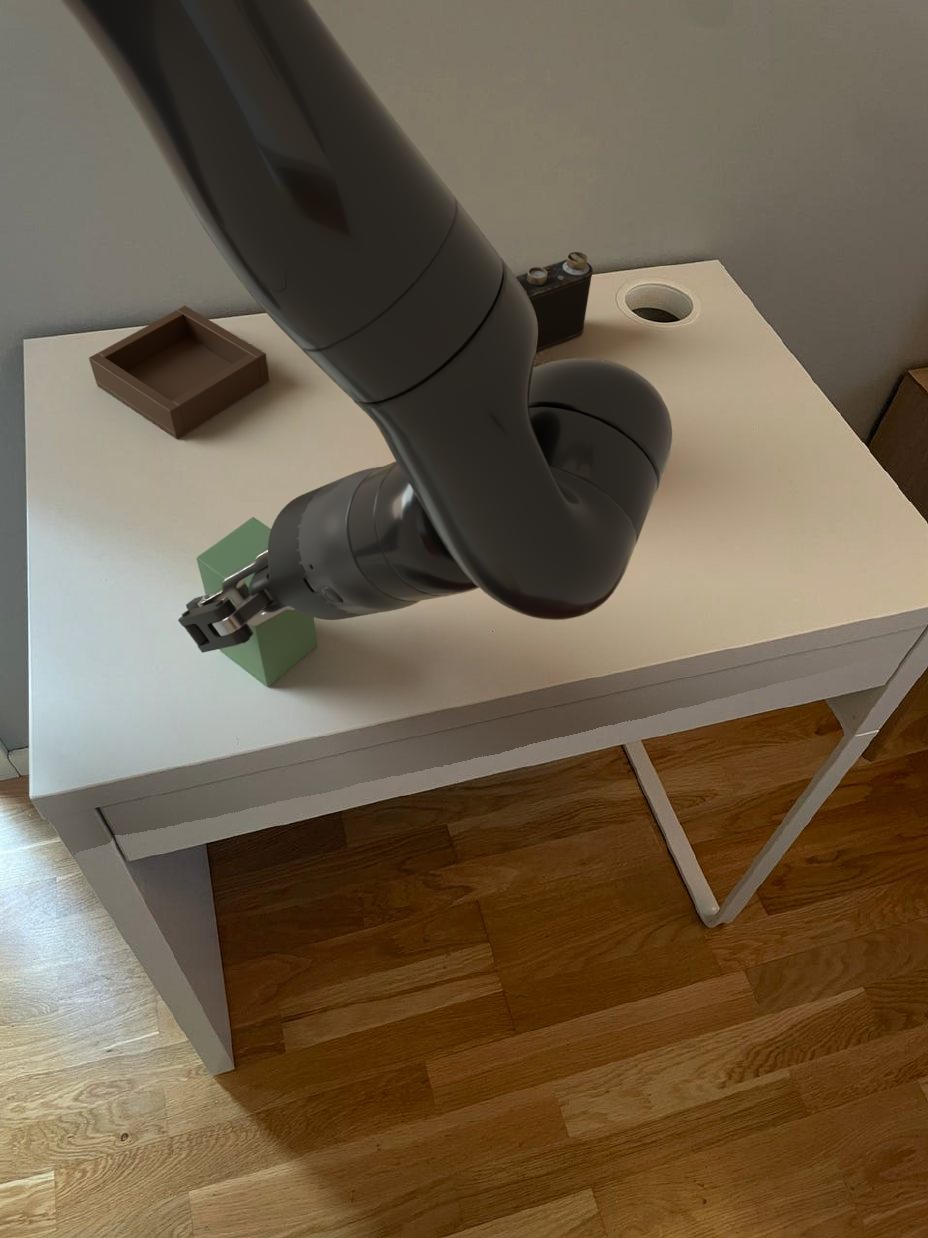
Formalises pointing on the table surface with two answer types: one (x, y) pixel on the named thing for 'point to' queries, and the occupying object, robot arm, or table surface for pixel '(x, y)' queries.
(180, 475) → the table surface
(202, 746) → the table surface
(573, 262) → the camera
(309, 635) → the green rectangular block
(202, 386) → the brown square tray
